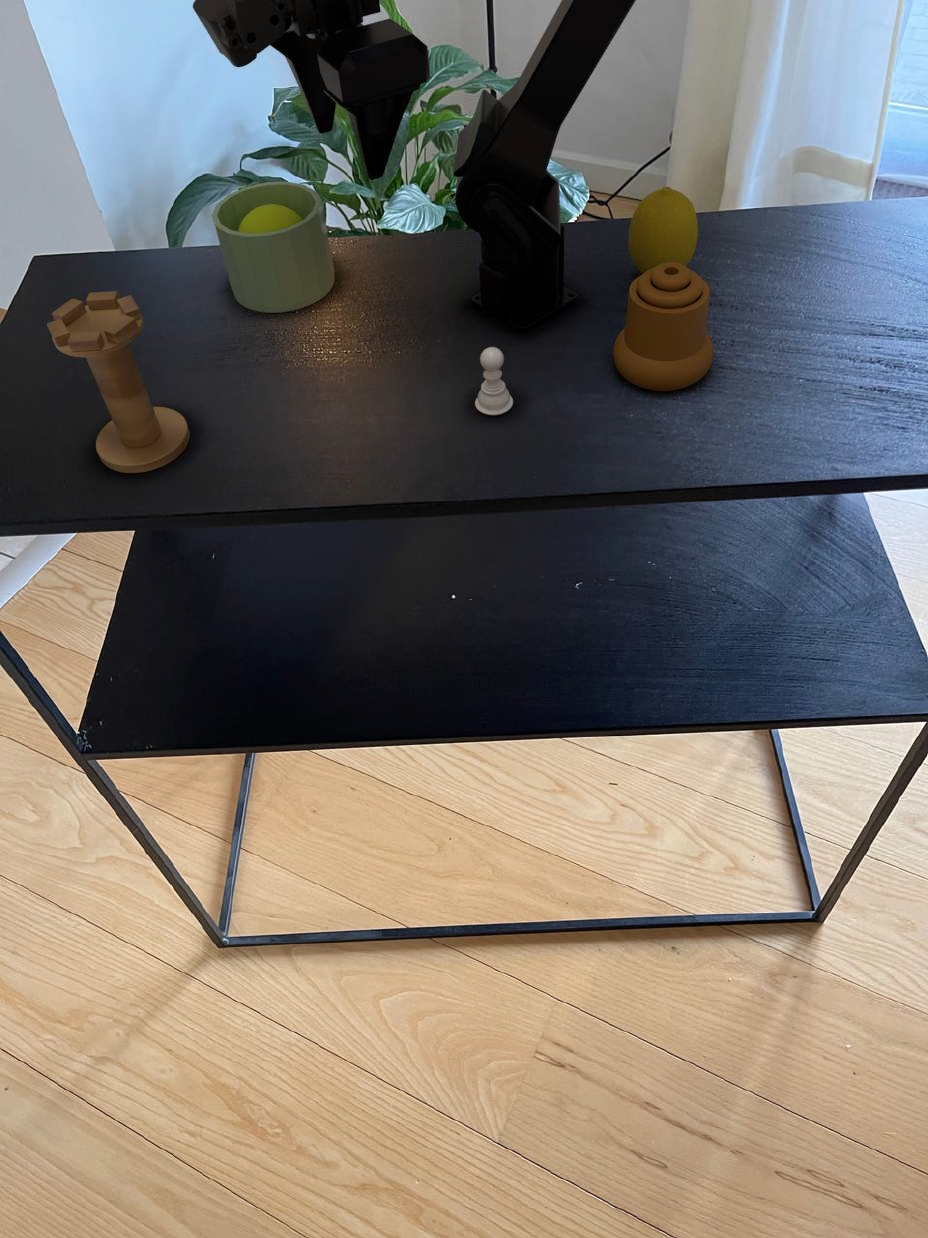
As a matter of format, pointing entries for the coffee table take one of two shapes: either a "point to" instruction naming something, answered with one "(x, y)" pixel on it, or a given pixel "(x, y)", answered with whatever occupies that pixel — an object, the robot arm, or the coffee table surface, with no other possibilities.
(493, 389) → the chess pawn
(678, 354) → the ornamental finial
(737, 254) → the coffee table surface
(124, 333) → the chess rook
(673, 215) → the lemon
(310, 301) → the cup
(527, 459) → the coffee table surface
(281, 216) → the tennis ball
